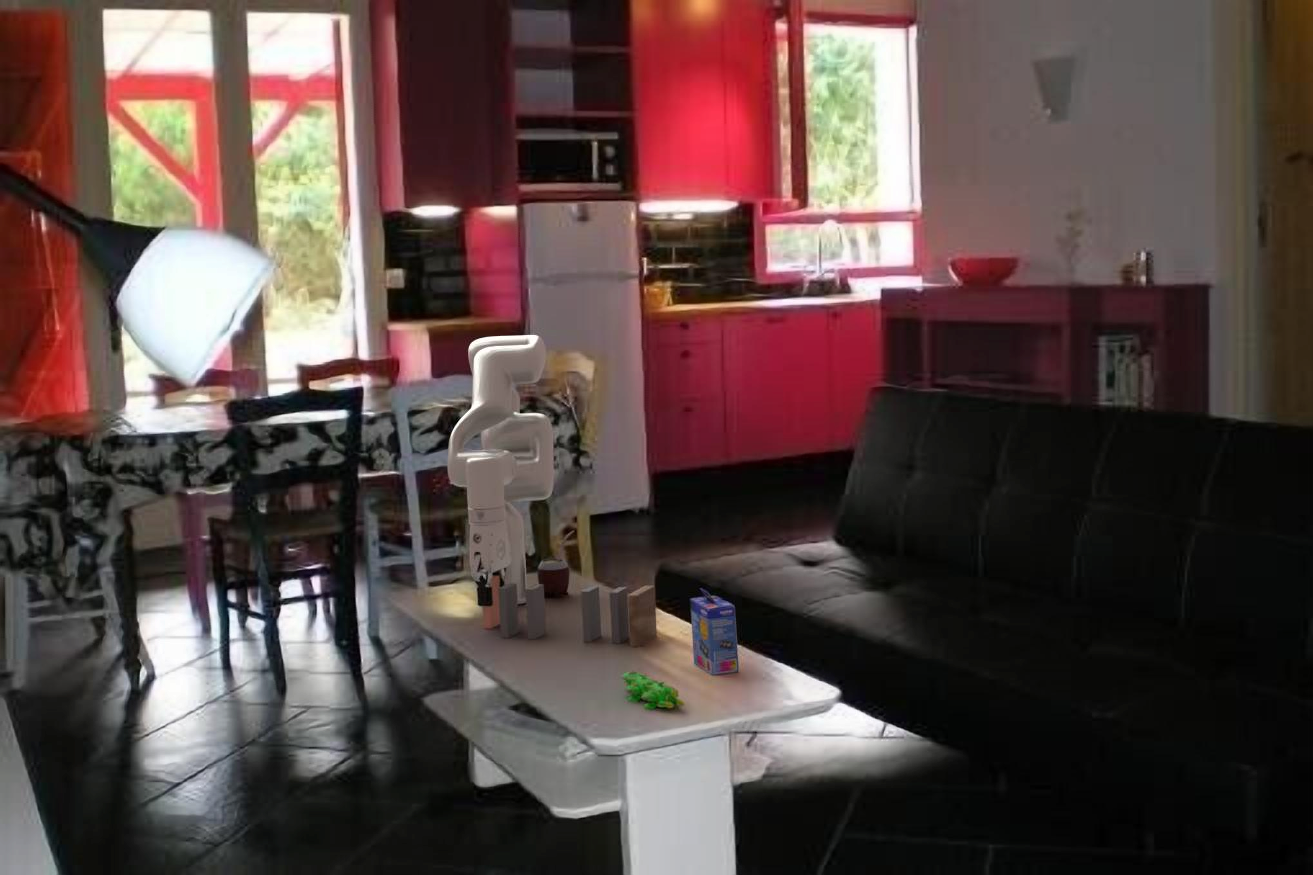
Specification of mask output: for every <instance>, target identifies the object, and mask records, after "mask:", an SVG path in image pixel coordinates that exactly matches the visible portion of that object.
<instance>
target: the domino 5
mask: <svg viewBox="0 0 1313 875" xmlns="http://www.w3.org/2000/svg"><path fill="white" fill-rule="evenodd" d="M609 606H610V607H609V608H610V628H611V629H610V630H611V643H612V644H621V643H624V641H626V640H628V639H630V630H629V609H628V586H619V587H617V588H615V589H612V591H610V592H609Z"/></svg>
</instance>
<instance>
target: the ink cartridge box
mask: <svg viewBox="0 0 1313 875" xmlns="http://www.w3.org/2000/svg"><path fill="white" fill-rule="evenodd" d="M699 589H700V592H701V593H702V594H703V596H698V597H692V598H689V602H690V603H689V604H690V616H691V617H690V618H691V635H692V650H693V651H692V652H693V654H692V655H693V663H694V664H695V665H697V666H698V667H699V668H701V669H703V670H704V671H706V672H707V673H708V674H709V675H711V676H717V675H722V674H730V673H731V674H733V673H738V672H739V671H740V665H739V664H740V661H739V652H738V650H739V648H738V639H737V638H738V636H737V624H736V623H737V621H736V620H737V619H736V608H735V605H734V604H733V603H731V602H730V601H727V600H724V599H723V598H722V597H719V596H717V595H711V594H710V593H709V591H707V590H705V589H703V588H699Z"/></svg>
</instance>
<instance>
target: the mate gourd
mask: <svg viewBox="0 0 1313 875" xmlns="http://www.w3.org/2000/svg"><path fill="white" fill-rule="evenodd" d="M574 532H575V530H574V529H573V530H572V531H570V532H569V533H568V534H566V535H565V537H564V538H562V541H561V543H560V544H561V546H560V549H559V552H558V557H557V558H546V559H542V560H540V563H539V564H538V566H537V572H536V573H537V580H538V584H544V598H551V597H553V598H555V599H556V600H557V599H560V596H569V591H568V589H569V585H570V569H569V565H568V563H567V561H566V560H565V559H563V558H561V556H562V553H563V549H564V547H565V544H566V543H567V539H568V538H569V537H570V536H571V535H572V534H573V533H574Z"/></svg>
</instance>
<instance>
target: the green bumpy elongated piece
mask: <svg viewBox="0 0 1313 875" xmlns="http://www.w3.org/2000/svg"><path fill="white" fill-rule="evenodd" d="M620 678H622V680H623V681H624V682H623V683H624V684H625V686H626V687H625V688H624V691H625V692H626V693H629V694H632V695H631V696H628V698H627V700H628V701H631V702H639V701H640V700H641V699H642V700H643V701H648V702H647V703H645V704H644V705H643V707H644V708H645V709H650V710H652V709H653V710H654V709H656V707H659V708H667V709H672V708H674V707H675V705H676V706H678V707H682V706H684V701H683V700H682V699H680V698H678V697H680V696H679V690H678V689H676V688H674V687H673V686H670V685H669V684H668V683H667V684H665V681H657V680H653V679H650V678H648V677H647V674H645V673H642V674H640V673H638V672H637V671H635V670H633V669H630V670H629V671H627V672H625V673H623V674H622V675H621V676H620Z"/></svg>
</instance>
